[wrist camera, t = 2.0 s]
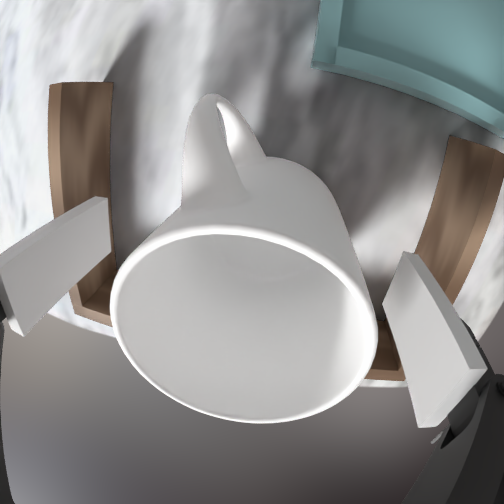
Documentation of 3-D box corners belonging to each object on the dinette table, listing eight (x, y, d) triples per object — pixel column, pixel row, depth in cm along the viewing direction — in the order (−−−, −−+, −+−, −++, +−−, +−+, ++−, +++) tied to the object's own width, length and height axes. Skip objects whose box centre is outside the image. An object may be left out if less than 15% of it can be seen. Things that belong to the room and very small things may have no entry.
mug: (317, 84, 14) (355, 39, 4) (343, 274, 19) (368, 416, 9) (171, 117, 16) (33, 146, 6) (220, 288, 21) (168, 417, 11)
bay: (101, 83, 15) (49, 84, 10) (461, 140, 13) (508, 157, 9) (108, 277, 22) (74, 313, 18) (390, 332, 20) (404, 381, 16)
